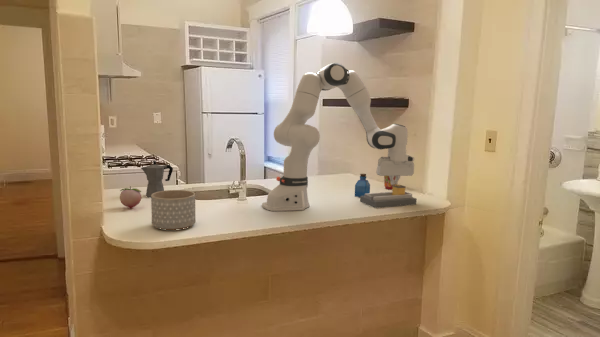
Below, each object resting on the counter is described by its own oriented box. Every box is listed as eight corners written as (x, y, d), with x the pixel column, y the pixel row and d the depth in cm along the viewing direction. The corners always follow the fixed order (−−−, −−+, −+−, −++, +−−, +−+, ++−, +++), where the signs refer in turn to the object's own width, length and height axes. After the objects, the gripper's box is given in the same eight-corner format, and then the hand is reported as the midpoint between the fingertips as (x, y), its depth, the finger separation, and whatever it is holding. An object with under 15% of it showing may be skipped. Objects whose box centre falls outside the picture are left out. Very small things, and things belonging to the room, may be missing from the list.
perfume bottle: (354, 196, 236) (355, 174, 234) (358, 194, 241) (359, 172, 239) (365, 198, 233) (366, 175, 231) (369, 195, 238) (370, 173, 236)
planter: (160, 234, 163) (159, 200, 161) (146, 223, 176) (145, 192, 174) (202, 228, 172) (202, 195, 170) (186, 218, 185) (185, 188, 183)
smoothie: (379, 187, 261) (381, 154, 258) (391, 186, 265) (393, 153, 262) (388, 190, 254) (390, 155, 251) (400, 189, 258) (402, 155, 255)
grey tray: (375, 208, 211) (375, 198, 210) (359, 201, 224) (360, 192, 223) (416, 204, 221) (416, 195, 220) (399, 198, 233) (399, 189, 233)
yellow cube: (397, 197, 221) (398, 186, 220) (391, 195, 226) (392, 185, 225) (405, 196, 223) (405, 186, 222) (398, 194, 227) (399, 184, 227)
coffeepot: (143, 198, 218) (141, 162, 215) (140, 195, 226) (139, 160, 223) (175, 196, 225) (174, 161, 222) (171, 193, 233) (170, 158, 230)
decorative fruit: (117, 210, 194) (117, 188, 193) (121, 206, 202) (120, 184, 201) (140, 210, 196) (139, 188, 194) (143, 206, 204) (142, 184, 202)
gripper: (382, 157, 213) (379, 185, 215) (417, 158, 221) (414, 185, 223) (375, 155, 219) (372, 183, 220) (409, 156, 227) (406, 183, 229)
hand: (394, 184), depth 222 cm, fingers closed
